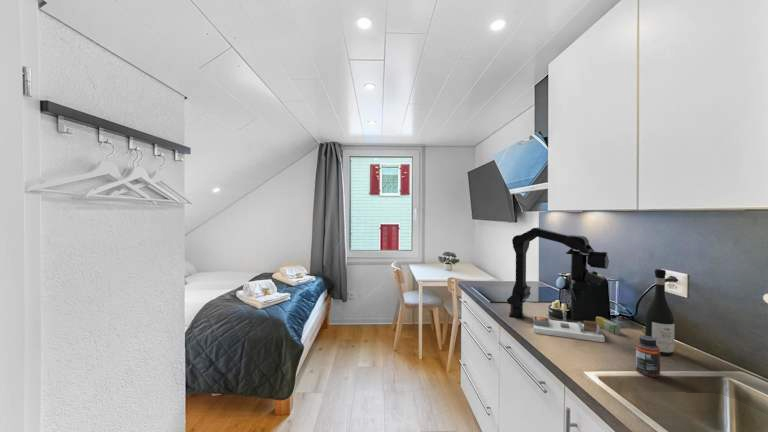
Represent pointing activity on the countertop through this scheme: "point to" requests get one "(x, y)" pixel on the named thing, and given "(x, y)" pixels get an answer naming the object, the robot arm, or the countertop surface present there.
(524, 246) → the robot arm
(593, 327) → the paddle
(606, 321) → the medication box
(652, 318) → the wine bottle
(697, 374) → the countertop surface
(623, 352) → the countertop surface
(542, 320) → the push button
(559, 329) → the control panel
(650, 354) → the supplement bottle
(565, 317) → the toggle lever
